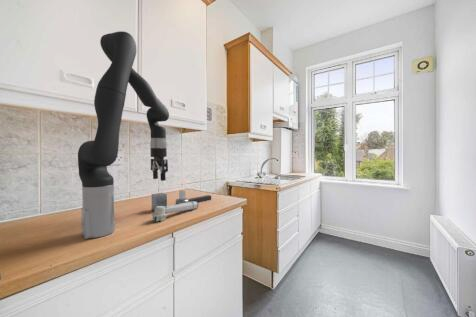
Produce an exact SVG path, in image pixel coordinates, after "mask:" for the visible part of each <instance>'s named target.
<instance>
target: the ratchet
mask: <svg viewBox="0 0 476 317" xmlns="http://www.w3.org/2000/svg"><path fill="white" fill-rule="evenodd" d="M211 200H212V195H209V194H207V195H201V196H197V197H191V198H187V197H186V190H184V189H182V190H178V198H177V199H175V205H176V204H181V203H187V202H190V201H192V202H194V201H195V202H198V203H202V202H207V201H211Z"/></svg>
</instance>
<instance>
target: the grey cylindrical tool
mask: <svg viewBox="0 0 476 317" xmlns="http://www.w3.org/2000/svg"><path fill="white" fill-rule="evenodd" d="M198 208H199V202H195V201H194V202H192V201H190V202H187V203H181V204H176V203H175V204H171V205H167V206H165V207H164V206H157V207H156V208H155V211H153V213H152V214H151V217H152V222H159V221H160V222H164V221H165V220H167V219H166V217H167V216H168V214H170V213H178V212H185V211H193V210H197V209H198Z"/></svg>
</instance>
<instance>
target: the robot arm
mask: <svg viewBox="0 0 476 317" xmlns="http://www.w3.org/2000/svg"><path fill="white" fill-rule="evenodd" d="M99 43H100V47H101V50H102V51H103V53H104V54H105V56H106V58H108V60H109V61H110V62H111V64H110V66H109V67H108V69H106V71H105V72H104V73H103V75H102V76H101V77H100V80H99V81H98V83H97V86H96V89H95V94H94V98H93V99H94V100H93V101H94V102H93V105H94V111H95V115H96V118H97V128H96V132H95V133H96V134H95V137H94V139H93V140H87V141H85V142H83V143H82V144H81V145H80V146H79V148H78V152H77V166H78V176H79V179H80V181H81V191H82V193H81V196H82V207H81V235H82V236H83V239H84V240H87V239H95V238H96V239H97V238H100V237H101V238H102V237H105V236H109V235H110V234H112V233H114V232H115V188H114V184H115V183H114V182H115V181H114V180H115V179H114V177H113V176H112V175H111V174H110V172H109V171H108V166H111V165H113V164H114V162H116V160H117V158H118V154H119V144H120V142H119V141H120V129H121V123H122V117H123V112H124V107H125V101H126V97H127V89H128V86H129V85H130V87H132V89H133V91H134V92H135V93H136V96H137V97H138V99H139V100H140V102H141V103H142V105H143V106H145V107H147V108H148V109H147V111H146V120H147V122H148V126H149V129H150V146H149V147H150V157H151V158H150V171H152V179H153V180H157V179H158V178H159V174H160V181H161V182H162V181H163V182H164V181H166V180H167V179H166V173H168V172H169V165H168V162H169V161H168V159H165V157H168V154H167V152H168V151H167V149H168V148H167V137H166V136H167V135H166V134H167V130H166V128H165V127H164V126H161V125H160V124H159V122H160V123H161V122H167V121H168V120H169V118H170V112H169V110H168V108H167V106H166V105H165V104H163V102H162V101H161V100H160V99H159V98H158V97H157V96H156V94H155V92H154V90H153V88H152V86H151V85H150V83H149V82H148V81H147V80H146V79H145V78H143V77H142V76H141V75H140V74H139V73H138V72H137V71H136V70H135V69H134V68H133V65H134V62H135V59H136V55H137V44H136V41H135V39H134V37H133V35H132V34H130V32H127V31H115V32H110V33H106V34H103V35H102V36H101V38H100V42H99ZM158 170H159V172H160V173H159V172H158Z"/></svg>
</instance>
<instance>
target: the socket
mask: <svg viewBox="0 0 476 317" xmlns="http://www.w3.org/2000/svg"><path fill="white" fill-rule="evenodd" d="M157 206H164V207H165V206H168V194H167V193H164V192H159V193H158V192H157V193H151V211H153V212H155V208H156V207H157Z"/></svg>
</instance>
